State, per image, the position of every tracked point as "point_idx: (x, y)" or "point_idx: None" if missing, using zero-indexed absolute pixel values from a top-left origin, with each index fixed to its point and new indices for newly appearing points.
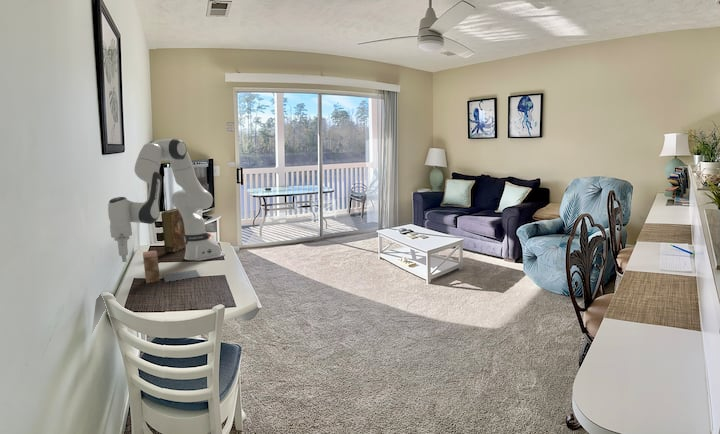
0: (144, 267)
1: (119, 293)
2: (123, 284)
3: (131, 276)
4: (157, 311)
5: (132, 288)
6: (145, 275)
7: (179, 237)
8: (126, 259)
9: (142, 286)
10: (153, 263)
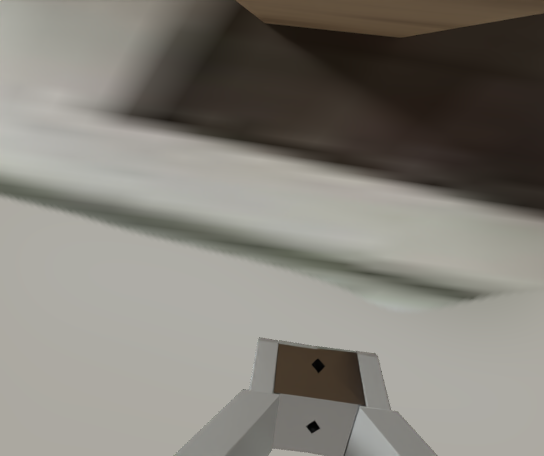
0: (323, 12)
1: (530, 284)
2: (284, 225)
3: (45, 130)
4: None
5: (477, 185)
6: (362, 27)
7: None
8: (382, 379)
9: (492, 96)
10: None
